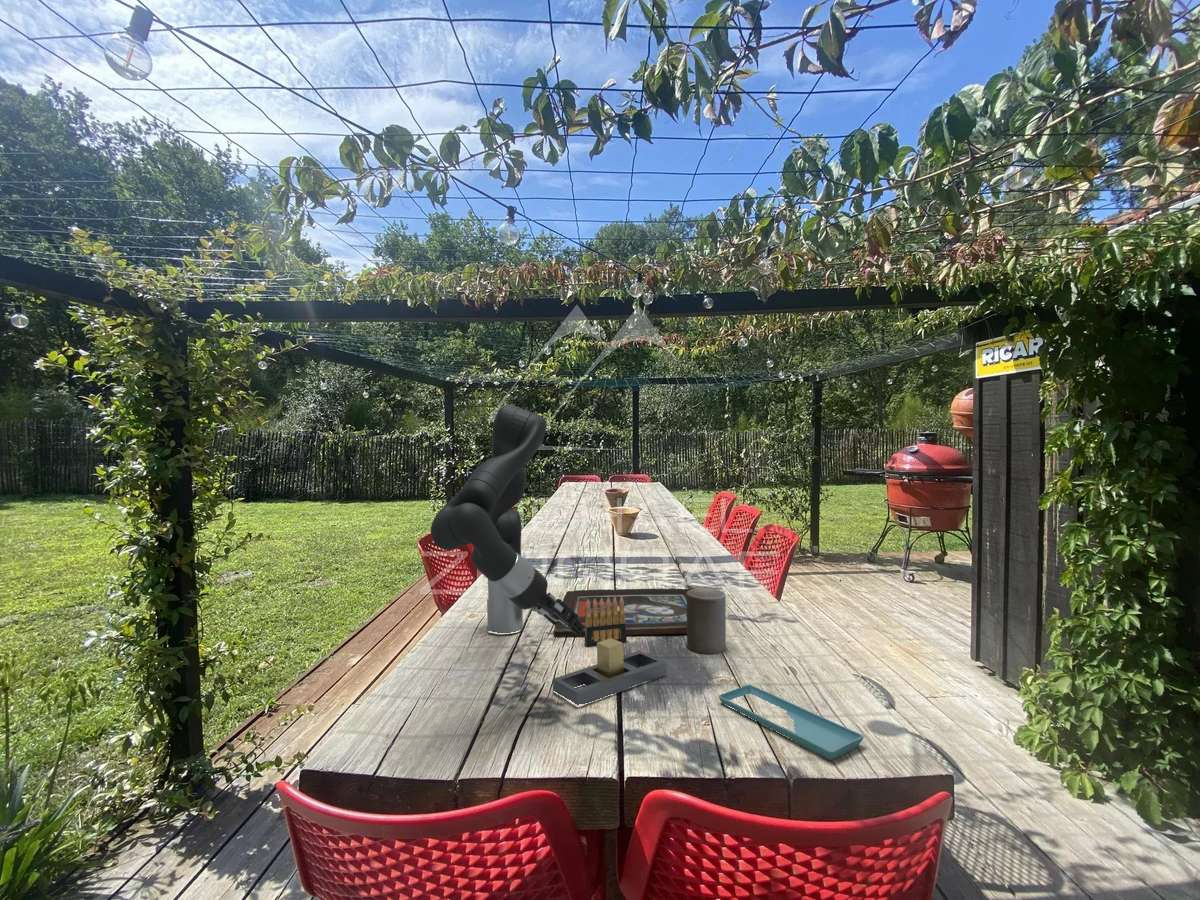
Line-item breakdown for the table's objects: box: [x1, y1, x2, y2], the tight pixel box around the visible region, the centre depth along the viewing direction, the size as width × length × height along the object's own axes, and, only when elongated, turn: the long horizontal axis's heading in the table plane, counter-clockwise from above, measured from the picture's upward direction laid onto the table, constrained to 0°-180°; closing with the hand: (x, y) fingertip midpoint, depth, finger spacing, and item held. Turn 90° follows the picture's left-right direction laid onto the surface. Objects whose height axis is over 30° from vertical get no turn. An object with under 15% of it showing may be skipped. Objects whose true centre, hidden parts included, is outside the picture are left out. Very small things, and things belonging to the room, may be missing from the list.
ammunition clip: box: [584, 596, 628, 648], centre depth 150 cm, size 11×2×12 cm, turn 103°
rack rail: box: [552, 650, 667, 705], centre depth 126 cm, size 24×9×3 cm, turn 127°
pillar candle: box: [686, 587, 727, 655], centre depth 146 cm, size 10×10×15 cm
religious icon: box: [553, 587, 696, 638], centre depth 175 cm, size 40×45×3 cm
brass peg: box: [596, 638, 624, 678], centre depth 126 cm, size 4×4×9 cm
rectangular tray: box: [717, 684, 865, 761], centre depth 108 cm, size 26×9×2 cm, turn 33°
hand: (569, 626), depth 119 cm, fingers open, 8 cm apart
